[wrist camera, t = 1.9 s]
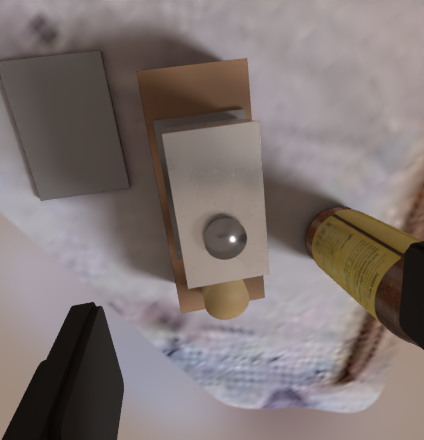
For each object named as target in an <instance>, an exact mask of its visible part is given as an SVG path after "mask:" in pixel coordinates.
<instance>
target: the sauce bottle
mask: <svg viewBox="0 0 424 440" xmlns="http://www.w3.org/2000/svg"><path fill="white" fill-rule="evenodd" d="M421 241H422V240H420V239H418V238H416V237H414V236H412V235H410V234H407V233H405V232H403V231H401V230H399V229H397V228H395V227H392V226H390V225H388V224H386V223H384V222H382V221H380V220H377V219H375V218H373V217H371V216H369V215H367V214H364V213H362V212H360V211H357V210H353V209H351V208H348V207H337V208H333V209H330V210H327V211H324V212H322V213H321V214H320V215H318V216H317V217H316V218H315V220H314V221H313V222H312V224H311V225H310V227H309V229H308V231H307V234H306V247H307V250H308V253H309V255H310V256H311V257H312V259H313V260H314V261H315V262H316V264H317V265H318V266H319V267H320V268H321V269H322V270H323V271H324V272H325V273H326V274H328V275H329V276H330V277H331V278H332V279H333V280H334V281H335V282H336V283H337V284H339V285H340V286H341V287H342V288H343V289H344V290H345V291H346V292H347V293H348V294H349V295H350V296H352V297H353V298H354V299H355V300H356V301H357V302H358V303H359V304H360V305H361V306H363V307H364V308H365V309H366V310H367V311H368V312H369V313H370V314H371V315H372V316H374V317H375V318H376V319H377V320H378V321H379V322H380V323H381V324H382V325H383V326H385V327H386V328H387V329H388V330H389V331H390V332H392V333H393V334H394V335H396V336H397V337H399V338H401V339H403V340H405V341H407V342H410V343H412V344H415V345H417V346H419V345H418V344H417V343H416V342H414V341H413V340H412V339H411V338H410V337H409V336H408V335H407V334H406V333H405V332H404V331H403V330H402V329H401V327H400V324H399V312H400V301H401V290H402V279H403V268H404V256H405V251H406V250H407V249H408V248H409V246H410V244H412V243H415V242H421ZM419 347H420V346H419Z"/></svg>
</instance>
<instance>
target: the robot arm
mask: <svg viewBox="0 0 424 440" xmlns="http://www.w3.org/2000/svg"><path fill="white" fill-rule="evenodd" d="M399 324H400V327H401V329H402V330H403V331H404V332H405V333H406V334H407V335H408V336H409V337H410V338H411V339H412V340H413V341H414V342H416V343H417V344H418V345H419V346H420V347H421V348H422V349H423V350H424V241H421V242H415V243H412V244H410V246H409V248H408V249H407V250H406V251H405V256H404V268H403V279H402V290H401V301H400V312H399ZM123 393H124V383H123V378H122V374H121V370H120V367H119V363H118V359H117V356H116V352H115V349H114V345H113V342H112V338H111V335H110V331H109V328H108V324H107V320H106V317H105V313H104V310H103V307H102V306H97V307H96V305H95V303H94V302H91V303H85V304H80V305H75V306H72V307H71V308H70V311H69V313H68V315H67V317H66V319H65V321H64V323H63V325H62V327H61V329H60V332H59V334H58V336H57V338H56V340H55V342H54V344H53V347H52V348H51V351H50V353H49V355H48V357H47V359H46V360H44V361H42V362H41V363H40V365H39V366H38V367H37V369H36V371H35V374H34V375H33V377H32V380H31V381H30V383H29V386H28V388H27V390H26V392H25V394H24V396H23V398H22V400H21V402H20V404H19V406H18V408H17V410H16V412H15V414H14V416H13V418H12V420H11V422H10V424H9V426H8V428H7V430H6V432H5V434H4V436H3V438H2V440H117V435H118V428H119V421H120V414H121V407H122V400H123Z"/></svg>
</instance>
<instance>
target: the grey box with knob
mask: <svg viewBox="0 0 424 440" xmlns="http://www.w3.org/2000/svg"><path fill="white" fill-rule="evenodd" d="M162 138H163V144H164V150H165V156H166V162H167V168H168V174H169V179H170V185H171V191H172V197H173V203H174V209H175V214H176V220H177V226H178V232H179V238H180V244H181V250H182V255H183V261H184V267H185V273H186V279H187V285H188V289H191V288H196V287H202V286H207V285H213V284H218V283H224V282H229V281H235V280H240V279H246V278H251V277H257V276H262V275H268V274H269V261H268V245H267V230H266V215H265V199H264V184H263V168H262V153H261V138H260V122H259V121H257V120H250V119H243V118H234V119H226V120H219V121H211V122H204V123H196V124H189V125H182V126H174V127H167V128H162Z"/></svg>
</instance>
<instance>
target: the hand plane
mask: <svg viewBox="0 0 424 440" xmlns="http://www.w3.org/2000/svg"><path fill="white" fill-rule="evenodd" d="M136 72H137V77H138V83H139V88H140V93H141V99H142V104H143V110H144V115H145V120H146V126H147V131H148V136H149V142H150V147H151V153H152V158H153V163H154V169H155V174H156V180H157V185H158V190H159V196H160V201H161V206H162V212H163V217H164V223H165V228H166V233H167V239H168V244H169V250H170V255H171V260H172V266H173V271H174V276H175V282H176V287H177V293H178V298H179V303H180V309H181V313H186V312H191V311H197V310H202V309H206V310H207V312H208V313H209V314H210V315H211V316H213V317H215V318H217V319H221V320H228V319H232V318H235V317H237V316H239V315H240V314H241V313H243V312H244V310H245V309H246V308H247V306H248V303H249V301H250V300H255V299H261V298H265V294H264V280H263V275H262V276H257V277H251V278H246V279H240V280H235V281H229V282H224V283H218V284H213V285H207V286H202V287H196V288H191V289H188V285H187V279H186V273H185V267H184V261H183V255H182V250H181V244H180V238H179V232H178V226H177V220H176V214H175V209H174V203H173V197H172V191H171V185H170V179H169V174H168V168H167V162H166V156H165V150H164V144H163V138H162V128H167V127H174V126H182V125H189V124H196V123H204V122H211V121H219V120H226V119H234V118H243V119H250V120H252V116H251V103H250V89H249V75H248V62H247V58H244V59H235V60H227V61H218V62H210V63H201V64H193V65H184V66H176V67H167V68H159V69H150V70H142V71H136Z"/></svg>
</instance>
